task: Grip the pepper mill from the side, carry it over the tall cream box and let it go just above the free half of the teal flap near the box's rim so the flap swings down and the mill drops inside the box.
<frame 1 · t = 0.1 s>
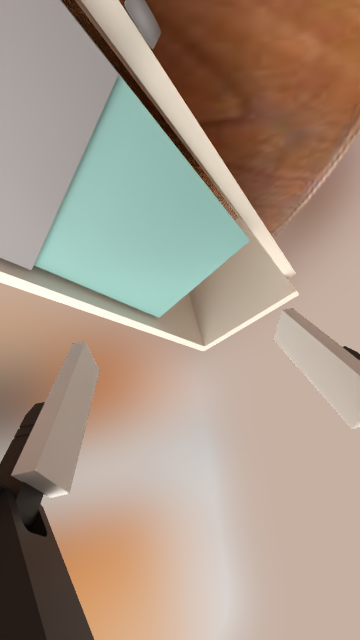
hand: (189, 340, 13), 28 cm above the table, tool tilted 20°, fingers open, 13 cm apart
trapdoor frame: (91, 138, 24), on the table
trapdoor: (107, 215, 15), point 17 cm above the table, hinge at 0.0°
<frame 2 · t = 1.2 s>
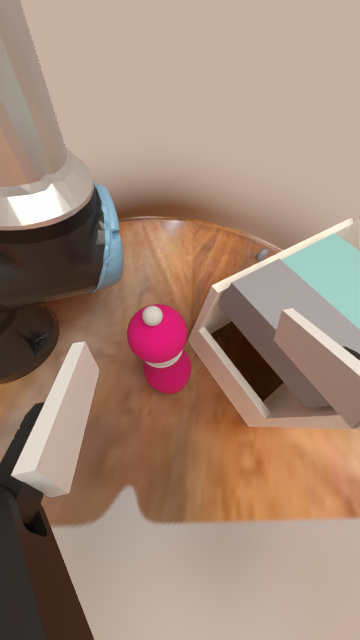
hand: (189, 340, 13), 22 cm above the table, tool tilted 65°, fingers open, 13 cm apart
pepper mill: (170, 375, 33), on the table
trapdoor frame: (247, 356, 37), on the table
trapdoor: (325, 300, 23), point 17 cm above the table, hinge at 0.1°
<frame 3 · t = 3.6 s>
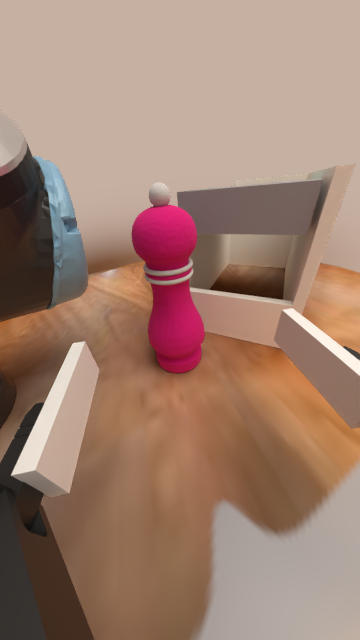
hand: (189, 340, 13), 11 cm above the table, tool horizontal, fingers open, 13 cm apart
pepper mill: (179, 356, 27), on the table
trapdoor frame: (237, 309, 36), on the table
trapdoor: (252, 202, 28), point 17 cm above the table, hinge at 0.1°
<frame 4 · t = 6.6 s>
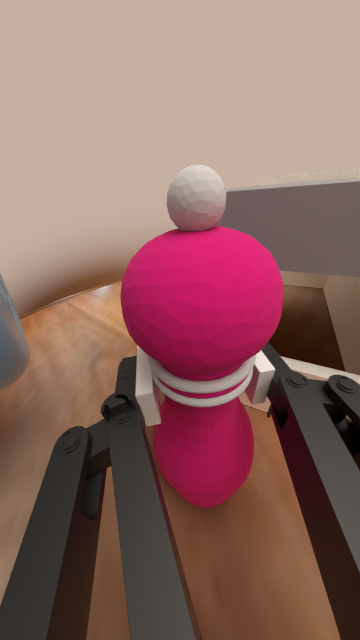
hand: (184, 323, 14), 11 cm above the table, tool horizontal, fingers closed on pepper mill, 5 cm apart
pepper mill: (202, 459, 17), on the table, touching gripper
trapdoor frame: (276, 356, 25), on the table
trapdoor: (317, 208, 18), point 17 cm above the table, hinge at 0.1°
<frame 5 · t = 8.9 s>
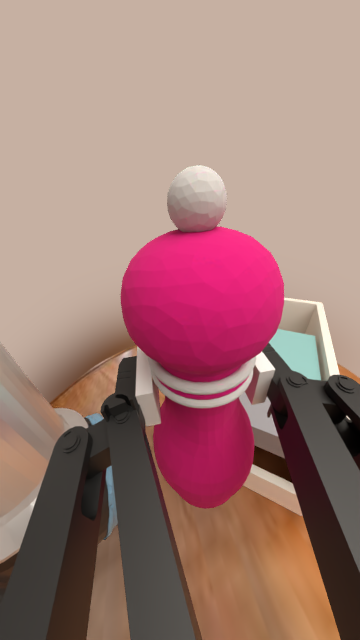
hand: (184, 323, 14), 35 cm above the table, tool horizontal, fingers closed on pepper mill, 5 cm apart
pepper mill: (202, 460, 16), point 24 cm above the table, touching gripper
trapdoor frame: (251, 437, 39), on the table
trapdoor: (268, 373, 31), point 17 cm above the table, hinge at 0.1°
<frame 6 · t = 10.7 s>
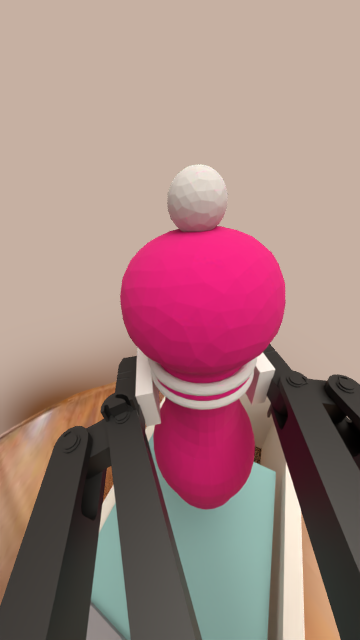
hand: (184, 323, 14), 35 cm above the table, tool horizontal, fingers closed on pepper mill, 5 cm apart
pepper mill: (203, 460, 16), point 24 cm above the table, touching gripper
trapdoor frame: (172, 625, 23), on the table
trapdoor: (169, 587, 15), point 17 cm above the table, hinge at 0.1°
when the fingers open (32 cm above the table, at t = 11.3 s): pepper mill drops 16 cm, resting on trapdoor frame.
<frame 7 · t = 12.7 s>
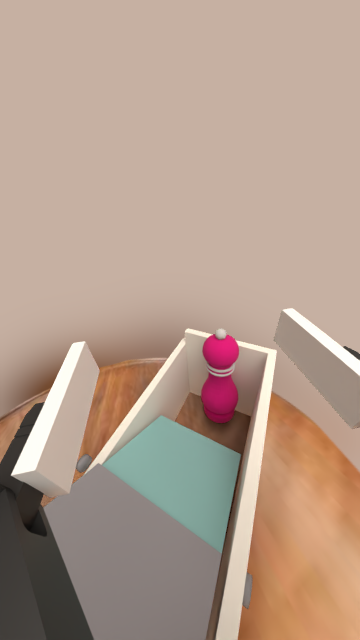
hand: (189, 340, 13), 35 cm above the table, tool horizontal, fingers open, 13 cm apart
pepper mill: (218, 409, 39), point 5 cm above the table, touching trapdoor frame
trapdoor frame: (169, 539, 28), on the table
trapdoor: (161, 496, 21), point 15 cm above the table, hinge at -35.6°
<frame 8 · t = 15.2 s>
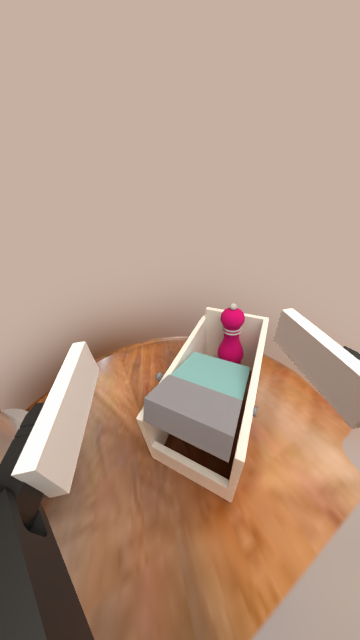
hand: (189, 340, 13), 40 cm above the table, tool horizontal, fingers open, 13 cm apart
pepper mill: (229, 364, 56), point 5 cm above the table, touching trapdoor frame
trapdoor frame: (202, 437, 44), on the table
trapdoor: (206, 387, 37), point 16 cm above the table, hinge at -21.2°
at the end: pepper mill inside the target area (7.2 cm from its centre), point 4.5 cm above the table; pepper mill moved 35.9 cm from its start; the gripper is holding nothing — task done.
